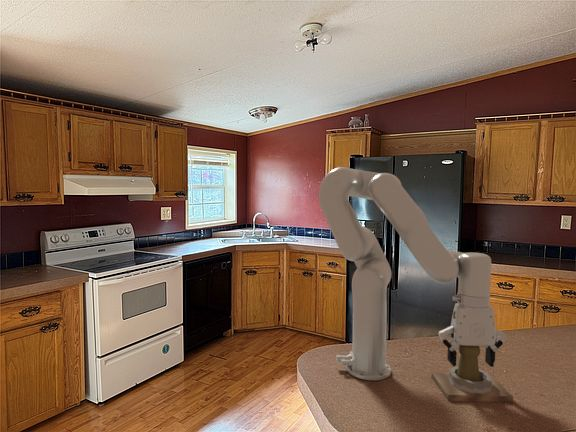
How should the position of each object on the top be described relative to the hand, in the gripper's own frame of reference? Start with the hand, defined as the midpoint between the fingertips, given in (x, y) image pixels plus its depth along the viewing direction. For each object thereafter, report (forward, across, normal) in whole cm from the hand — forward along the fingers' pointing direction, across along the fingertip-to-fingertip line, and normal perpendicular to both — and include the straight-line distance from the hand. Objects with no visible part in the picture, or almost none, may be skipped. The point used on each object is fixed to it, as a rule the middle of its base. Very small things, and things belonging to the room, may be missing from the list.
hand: (470, 364), depth 103 cm
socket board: (+7, 0, 0) cm, 7 cm away
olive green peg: (+6, 0, 0) cm, 6 cm away
